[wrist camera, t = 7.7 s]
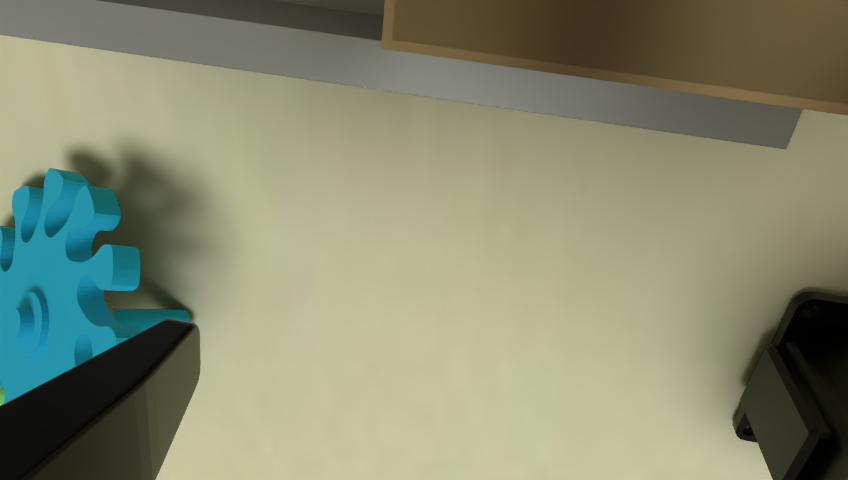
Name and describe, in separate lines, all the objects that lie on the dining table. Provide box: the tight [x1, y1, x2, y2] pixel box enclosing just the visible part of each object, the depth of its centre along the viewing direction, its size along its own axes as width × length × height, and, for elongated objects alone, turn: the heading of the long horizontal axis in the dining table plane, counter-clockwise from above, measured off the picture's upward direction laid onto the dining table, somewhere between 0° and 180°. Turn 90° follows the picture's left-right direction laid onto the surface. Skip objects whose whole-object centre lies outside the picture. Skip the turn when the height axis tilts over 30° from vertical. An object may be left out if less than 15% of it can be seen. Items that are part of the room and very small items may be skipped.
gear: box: [0, 168, 190, 404], centre depth 23 cm, size 11×6×10 cm
